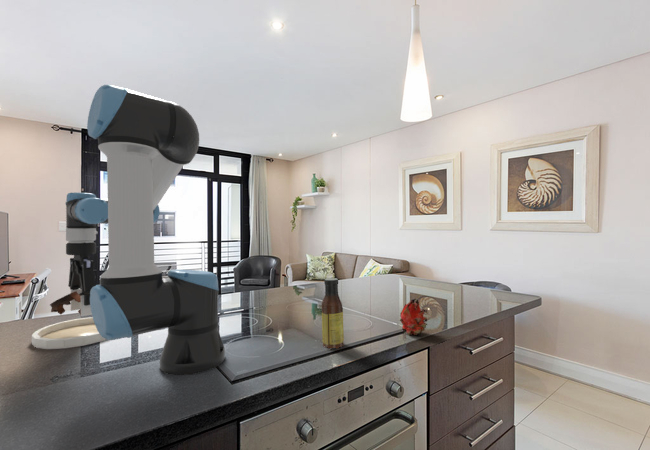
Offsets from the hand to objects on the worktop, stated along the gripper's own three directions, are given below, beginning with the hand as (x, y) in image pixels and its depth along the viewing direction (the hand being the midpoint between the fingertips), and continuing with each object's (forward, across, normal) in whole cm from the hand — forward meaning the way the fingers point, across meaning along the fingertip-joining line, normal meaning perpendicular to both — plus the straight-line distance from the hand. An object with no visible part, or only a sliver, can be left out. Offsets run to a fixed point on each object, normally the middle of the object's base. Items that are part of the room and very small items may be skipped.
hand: (81, 312), depth 99 cm
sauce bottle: (+7, -68, -42) cm, 80 cm away
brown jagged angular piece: (+2, 0, -1) cm, 2 cm away
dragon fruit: (+7, -83, -65) cm, 106 cm away
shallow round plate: (+7, 0, 0) cm, 7 cm away
